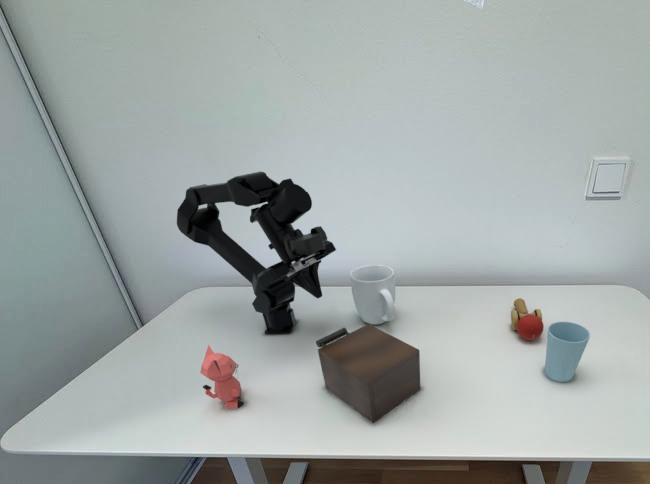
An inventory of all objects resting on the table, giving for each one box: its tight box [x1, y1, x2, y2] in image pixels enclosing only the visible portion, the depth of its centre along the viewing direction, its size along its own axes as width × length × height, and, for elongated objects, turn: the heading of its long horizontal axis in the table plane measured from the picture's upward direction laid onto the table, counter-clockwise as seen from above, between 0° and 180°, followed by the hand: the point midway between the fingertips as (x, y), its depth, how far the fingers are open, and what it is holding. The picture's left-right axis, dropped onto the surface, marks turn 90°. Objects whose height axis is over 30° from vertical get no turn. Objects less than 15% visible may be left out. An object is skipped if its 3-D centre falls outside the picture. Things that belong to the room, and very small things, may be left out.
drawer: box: [315, 327, 350, 378], centre depth 74 cm, size 18×11×8 cm, turn 46°
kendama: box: [510, 297, 545, 341], centre depth 92 cm, size 8×6×18 cm
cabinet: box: [317, 323, 421, 424], centre depth 72 cm, size 15×13×10 cm
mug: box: [349, 263, 396, 325], centre depth 93 cm, size 15×11×13 cm
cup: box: [544, 321, 591, 383], centre depth 74 cm, size 8×8×10 cm
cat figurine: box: [199, 344, 244, 410], centre depth 69 cm, size 7×7×12 cm
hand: (320, 297), depth 82 cm, fingers closed
